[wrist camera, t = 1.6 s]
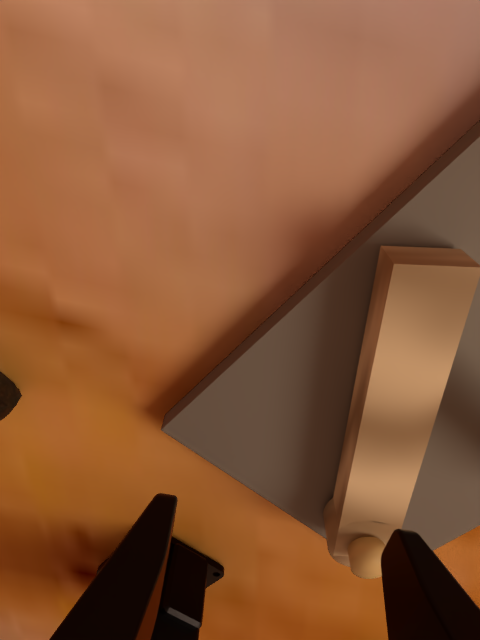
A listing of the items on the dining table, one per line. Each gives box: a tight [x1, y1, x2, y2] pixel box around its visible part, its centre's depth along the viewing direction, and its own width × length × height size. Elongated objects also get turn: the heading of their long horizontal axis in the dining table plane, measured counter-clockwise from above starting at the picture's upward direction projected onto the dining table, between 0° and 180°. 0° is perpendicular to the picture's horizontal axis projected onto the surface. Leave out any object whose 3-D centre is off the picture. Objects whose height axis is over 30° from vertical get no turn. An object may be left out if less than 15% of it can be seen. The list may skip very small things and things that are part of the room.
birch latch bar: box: [323, 246, 480, 567], centre depth 21 cm, size 18×4×2 cm, turn 178°
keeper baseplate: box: [161, 121, 480, 579], centre depth 21 cm, size 22×18×5 cm
